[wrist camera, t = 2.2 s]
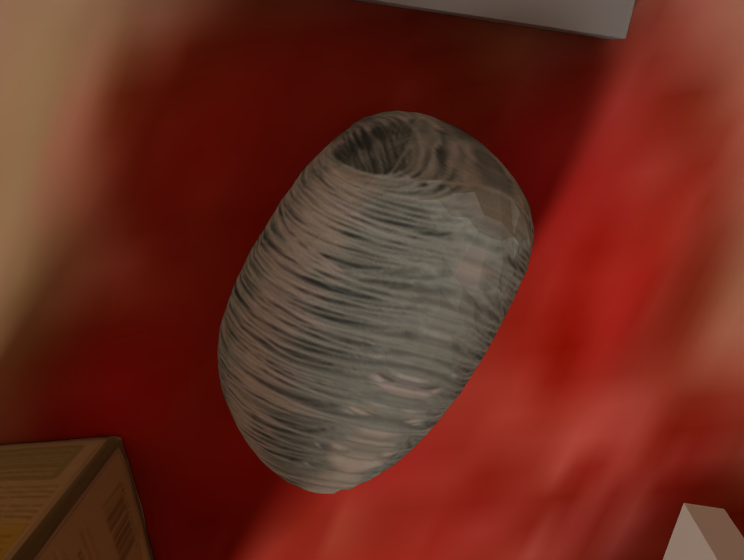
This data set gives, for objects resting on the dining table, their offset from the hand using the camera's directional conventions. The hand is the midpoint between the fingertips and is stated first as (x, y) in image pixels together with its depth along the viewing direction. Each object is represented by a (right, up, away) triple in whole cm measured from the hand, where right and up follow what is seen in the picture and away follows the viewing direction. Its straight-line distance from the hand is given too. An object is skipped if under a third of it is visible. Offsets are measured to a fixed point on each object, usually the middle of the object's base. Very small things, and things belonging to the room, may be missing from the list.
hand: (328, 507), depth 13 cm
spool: (+1, +5, +15) cm, 16 cm away
